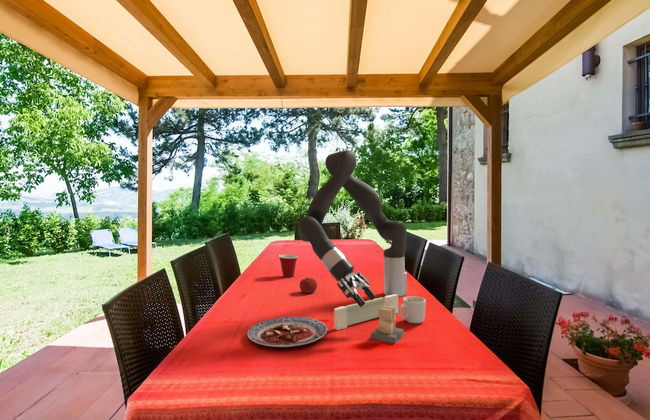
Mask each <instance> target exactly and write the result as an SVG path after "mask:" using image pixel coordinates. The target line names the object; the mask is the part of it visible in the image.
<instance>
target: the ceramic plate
mask: <svg viewBox="0 0 650 420" xmlns="http://www.w3.org/2000/svg"><path fill="white" fill-rule="evenodd" d="M327 332H328V327H327V325H326V324H325V323H324V322H322V321H320V320H318V319H315V318H312V317H311V318H310V317H306V316H303V317H302V316H283V317H275V318H274V317H273V318H270V319H266V320H263V321H262V320H261V321H260V322H258V323H256V324H254V325H253V326H251V327H250V328H249V329H248V331H247V337H248V338H249V340H250V341H252V342H254V343H255V344H258V345H262V346H265V347H273V348H274V347H275V348H289V347H298V346H303V345H307V344H311V343H313V342H316V341H318V340H319V339H322V338H323V337H324V336H326V334H327Z"/></svg>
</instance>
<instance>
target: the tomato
mask: <svg viewBox="0 0 650 420" xmlns="http://www.w3.org/2000/svg"><path fill="white" fill-rule="evenodd" d="M317 288H318V283H317V281H316V279H314V278H312V277H310V278H309V277H305V278H302V279H301V280H300V282H299V289H300V291H301V292H303V293H304V294H305V295H306V294H307V295H308V294H312V293H315V291H316V290H317Z"/></svg>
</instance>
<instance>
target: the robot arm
mask: <svg viewBox="0 0 650 420" xmlns="http://www.w3.org/2000/svg"><path fill="white" fill-rule="evenodd" d="M324 161H325V163H324V164H325V167H326V170H327V171H328V173H329V175H331V177H330V178H328V180H327V181H326V182H325V183H324V184H323V185H322V186H321V187H320V188H319V189H318V190H317V192H316V193H315V195H314V196H313V198H312V200H311V202H310V203H309V205H308V209H307V212H306V215H305V216H303V217H301V218H300V219H299V221H298V223H297V234H298V236H299V237H298V238H300V240H301V241H303V242H307V243H309V244H311V247H312V251H313V252H314V253H315V256H317V258H318V259H319V260H320V262H322V264H323V266H324V267H325V268H326V270H327V271H328V272H329V273H330V274H331V276H332V277H333V278H334V279H335V281H336V282H337V283H336V285H337V287H338V288H339V289H340V290H341V292H342V293H343V295H344V296H345V298H347V299H349V298H351V299H353V300H354V302H355V304H356V303H357V304H358V305H359V306H360V307H362V306H363V305H364V304H365V301H366V300H364V299H363V297H362V296H361V295H360V294H359V293H358V291H357V290H361V291H362V292H363V293H364V294H365V295H366V296H367V297H368V299H369V300H373V299H376V298H377V295H376V293H374V292H373V290H372V289H371V288H370V286H371V282H370V281H369V280H368V279H367V278H366V276H365V275H363V274H362V273H361V271H358V272H357V273H355V271H354V268H355V266H354V265H353V264H352V263H351V261H350V260H349V259H348V257H346V255H345V254H344V253H343V252H342V251H341V250H340V249H339V248H338V246H336V245H335V244H334V242H333V241H332V240H331V239H330V238H329V236H328V235H327V233H326V232H325V230H324V228H323V227H322V224H323V222H324V220H325V217H326V216H327V213H328V212H329V211H330V207H331V206H332V204H333V202H334V201H335V199H336V197H337V195H338V194H339V192H340V191H341V190H342V188H344V190H345V191H346V192H347V193H348V195H349V196H350V197H351V198H352V199H353V201H354V203H356V205H357V206H358V207H359V208H360V209H361V211H362V212H363V213H364V214H365V216H366V217H367V218H368V219H369V221H370V222H371V223H372V225H373V226H374V228H375V230H376V232H378V234H379V236H380V238H382V239H383V240H385V241H389V242H391V245H390V247H388V248H385V249H384V250H383V293H384V295H385V296H388V295H393V294H397V295H398V297H404V296H405V295H407V294H408V293H407V292H408V288H407V286H408V284H407V283H408V281H407V278H408V277H407V276H408V275H407V272H406V270H405V269H406V268H405V266H406V265H405V254H406V250H407V236H408V235H407V226H406V224H405V223H404V221H401V220H390V219H388V218H387V217H386V216H385V214H384V212H383V211H382V209H383V208H382V201H381V200H382V199H381V198H380V196H379V195H378V193H377V192H376V191H375V189H374V188H373V187H372V186H370V185H369V184H367V183H366V182H364V181H363V180H361V179H359V178H357V177H356V176H354V175H353V172H355V169H356V168H357V157H356V155H355V154H354V152H352V151H351V150H342V151H337V152H334V153H331V154H328V155H327V156H326V158H325V160H324Z"/></svg>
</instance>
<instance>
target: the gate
mask: <svg viewBox="0 0 650 420" xmlns="http://www.w3.org/2000/svg"><path fill="white" fill-rule="evenodd" d="M364 301H365V304H364V305H363V306H362V307H360V306H359V305H358V304H357V303H356V302H355V303H352V304H349V305H348V304H347V305H345V306H344V307H346V308H347V327H348V326H351V325H355V324H358V323H362V322H365V321H368V320H373V319H376V318H379V308H381V307H382V306H383V305H385V300H384V297H378V298H377V297H376V298H374V299H373V300H370V299H369V300H364Z"/></svg>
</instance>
